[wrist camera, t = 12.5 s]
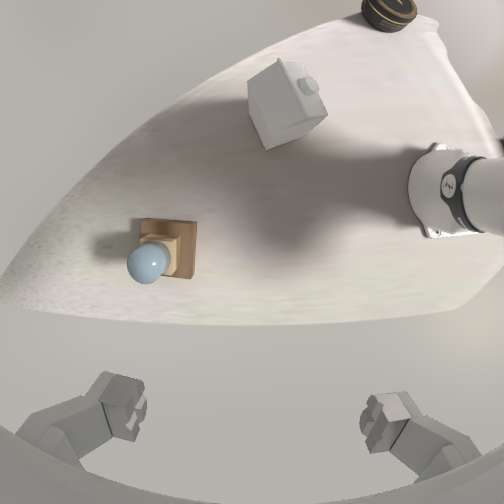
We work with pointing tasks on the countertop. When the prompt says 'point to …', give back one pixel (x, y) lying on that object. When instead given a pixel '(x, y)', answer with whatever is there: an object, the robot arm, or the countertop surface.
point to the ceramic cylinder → (148, 262)
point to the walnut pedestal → (186, 241)
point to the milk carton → (284, 103)
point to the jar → (389, 13)
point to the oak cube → (172, 245)
